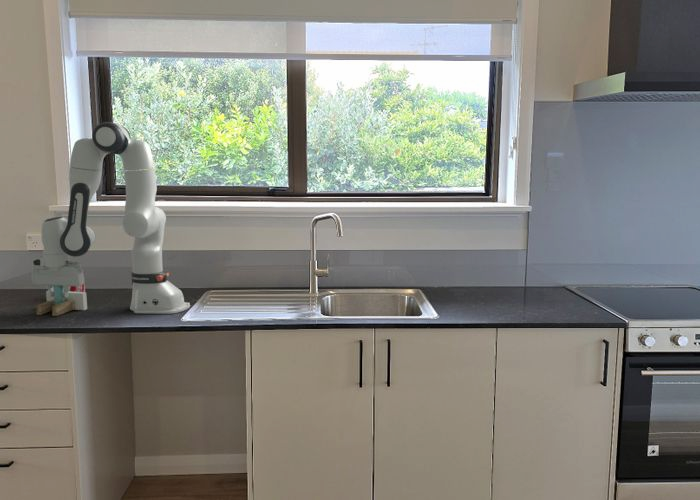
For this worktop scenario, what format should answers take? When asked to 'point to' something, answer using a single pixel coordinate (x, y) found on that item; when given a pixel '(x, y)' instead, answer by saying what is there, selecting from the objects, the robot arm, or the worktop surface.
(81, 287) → the soda can
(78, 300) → the backstop wall
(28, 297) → the worktop surface
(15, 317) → the worktop surface
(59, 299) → the dowel
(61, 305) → the channel block
